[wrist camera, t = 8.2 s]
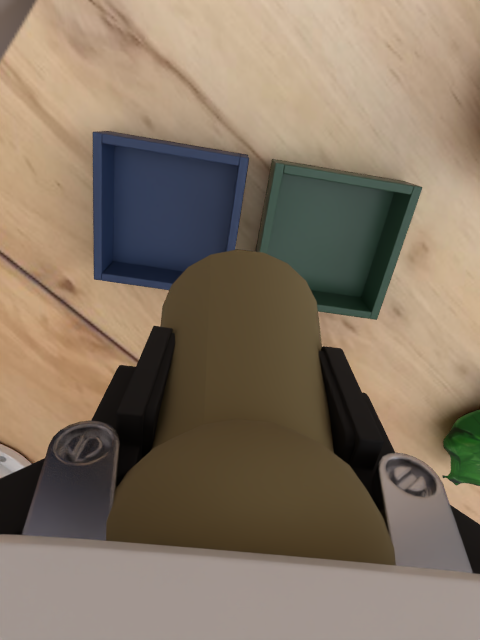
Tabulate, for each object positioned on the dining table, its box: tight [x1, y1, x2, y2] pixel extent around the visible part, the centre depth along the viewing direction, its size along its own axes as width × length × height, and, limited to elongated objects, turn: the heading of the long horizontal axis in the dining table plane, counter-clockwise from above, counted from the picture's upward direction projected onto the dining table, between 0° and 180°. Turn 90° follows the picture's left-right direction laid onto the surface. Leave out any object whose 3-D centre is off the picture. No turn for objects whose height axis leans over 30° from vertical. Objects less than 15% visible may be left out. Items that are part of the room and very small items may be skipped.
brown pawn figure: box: [106, 250, 395, 565], centre depth 10 cm, size 6×6×11 cm
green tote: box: [256, 159, 422, 320], centre depth 30 cm, size 10×10×3 cm
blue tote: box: [93, 131, 249, 290], centre depth 29 cm, size 10×10×3 cm
